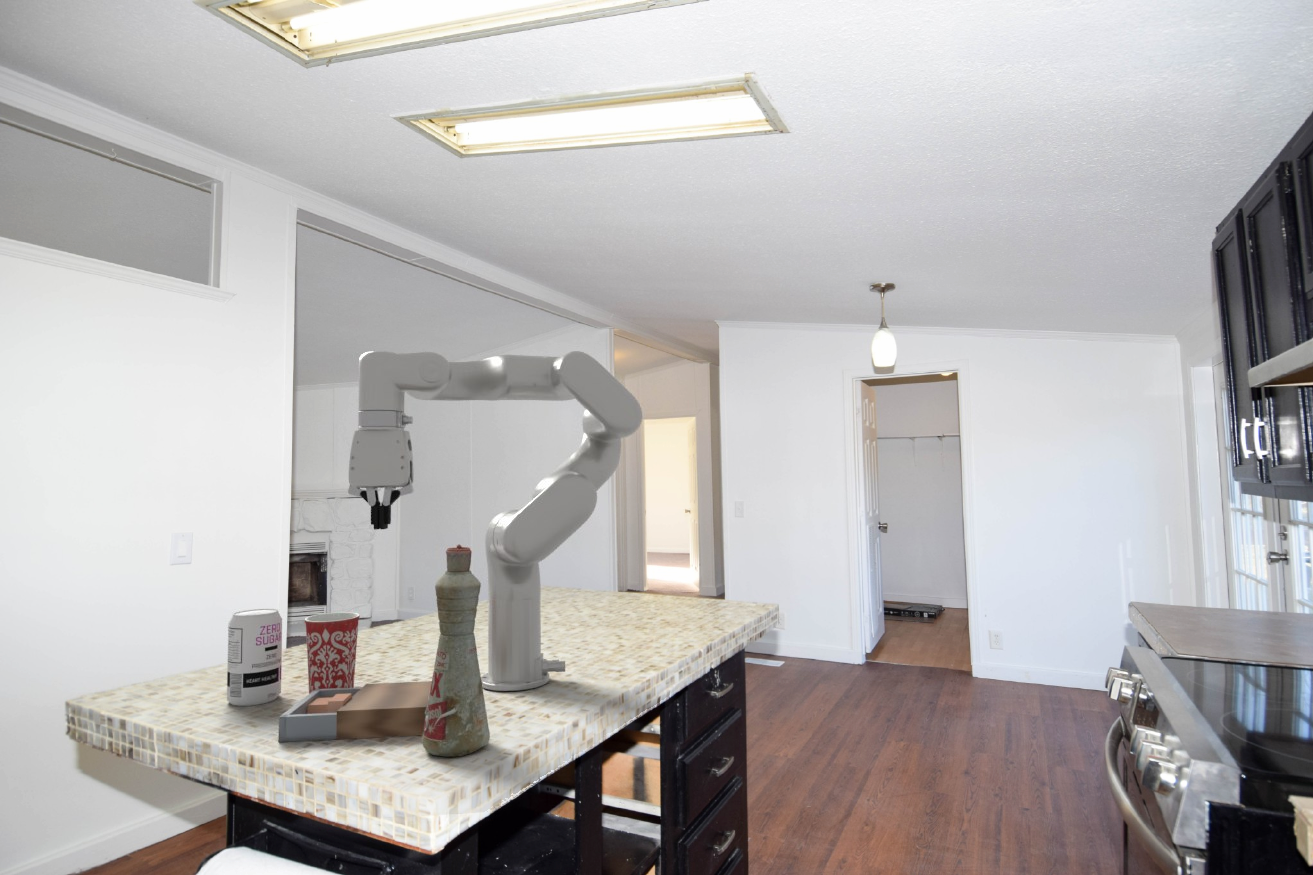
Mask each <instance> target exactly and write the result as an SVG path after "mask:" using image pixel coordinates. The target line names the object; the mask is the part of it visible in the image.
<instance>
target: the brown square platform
mask: <svg viewBox="0 0 1313 875" xmlns="http://www.w3.org/2000/svg"><path fill="white" fill-rule="evenodd" d="M431 683H432V680H428V681H427V680H425V681H424V680H423V681H403V682H381V683H380V682H379V683H366V684H364V685H363V686H361V687H362V688H361V689H360V690H359V691H358V692H357V693H356V694H355V695H354V696H353V697H351V698H350V699H349V700H348V701H347V702H346V703H345V704H344V705H343V706H342V707H341V708H339V709H338V710H337V731H336V739H335V740H348V739H350V740H351V739H369V738H370V739H371V738H389V737H393V738H395V737H410V736H411V737H412V736H423V732H424V725H425V717H426V714H425V710H426V708H427V704H428V698H429V692H430V689H431Z"/></svg>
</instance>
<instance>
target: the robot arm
mask: <svg viewBox="0 0 1313 875" xmlns="http://www.w3.org/2000/svg"><path fill="white" fill-rule="evenodd" d="M405 393H406V394H408V395H409V396H410V397H412V398H414V399H416V400H421V401H449V402H450V401H452V402H454V401H458V402H459V401H552V402H554V401H557V402H558V401H560V402H564V401H572V400H576V401H577V402H578V403H579V404H580V405H581V406H582V407H583V408H584V409H585V410H583V411H584V412H583V414H582V421H581V422H582V424H581V425H582V431H583V433H582V439H581V440H582V441H581V442H580V445H579V446H578V448H577V449H576V450H575V451H574V452H573V453H572V454H571V455H570V456H569V457H568V458H567V459H566V460H565V461H563V462H562V463H561V464H559V466H557V468H555V469H554V470H553V471H552V472H550V473H549V474H548V475H546V476H545V477H544V478H542V479H541V480H540V481H539V483H538V484H537V485H536V486H535V488H534V489H533V493H532V496H531V501H529V502H528V503H527V504H526V505H525V506H524V507H523V508H522V509H508V510H504V511H502V512H500V513H498V514H497V515H495V516H494V517H493V518H492V519H491V521H490V523H489V524H488V526H487V528H486V534H485V540H484V541H485V542H484V544H485V556H486V564H487V582H488V585H487V586H488V587H487V588H488V590H487V591H488V596H487V597H488V598H487V599H488V600H487V601H488V602H487V604H488V605H487V606H488V607H487V608H488V609H487V610H488V612H487V614H488V616H487V618H488V620H487V621H488V623H487V626H488V628H487V629H488V632H487V633H488V634H487V635H488V637H487V638H488V641H487V642H488V646H487V648H488V649H487V650H488V651H487V652H488V658H487V659H488V662H487V663H488V670H487V671H488V672H487V673H484V674H483V675H481V681H482V688H483V689H486V690H489V691H499V692H514V691H516V692H517V691H524V690H531V689H535V688H539V687H542V686H544V685H546V684H548V682H550V673H551V672H553V673H554V672H555V673H565V672H566V660H560V659H552V660H548V659H547V658H544V653H543V652H542V649H541V648H542V644H541V643H542V642H541V641H542V640H541V639H542V638H541V637H542V636H541V635H542V634H541V631H542V630H541V618H542V617H541V616H542V614H541V613H542V612H541V595H542V594H541V592H542V591H541V590H542V589H541V588H542V587H541V586H542V585H541V574H540V573H541V571H540V564H539V563H540V562H542V561H544V560H545V559H546V558H548V557H549V556H550V555H551V554H553V553H554V552H555V551H556V550H557V549H559V547H561V546H562V544H563V543H565V542H566V541H567V540H569V538H570V537H571V536H572V535H573V534H575V532H576V531H578V530H579V528H581V527H582V526H583V525H584V524H585V523H586V522H587V521H588V520H589V519H590V518H591V516H592V515H593V513H594V511H595V509H596V506H597V503H598V502H597V501H598V493H597V492H598V490H599V489H600V488H601V487H602V486H603V485H604V484H605V483H606V482H607V481H608V480H609V479H610V478H611V477H612V476H613V475H614V473H615V471H616V470H617V468H618V466H619V462H620V459H621V453H622V451H621V450H622V439H624V438H627V437H630V436H631V435H633V434H635V433H636V432H637V431H638V429H639V428H640V426H641V425H642V420H643V411H642V407H641V404H640V403H639V401H638V400H637V399H636V397H635V396H634V395H633V394H632V393H631V392H630V391H629V390H628V389H627V388H626V387H625V386H624V385H623V384H622V383H621V382H620V381H619V380H618V379H617V378H616V377H615V376H613V374H611V372H609V371H608V369H606V368H605V367H604V366H603V365H602V364H601V362H599V361H597V359H595V357H592V356H591V355H589V353H585V352H584V351H577V350H576V351H570V352H568V353H566V354H563V355H561V356H549V355H548V356H547V355H546V356H545V355H544V356H543V355H523V354H520V355H519V354H500V355H494V356H491V357H486V358H483V359H477V360H471V361H458V362H457V361H448V360H447V358H445V357H444V356H443V355H441V354H439V353H437V352H434V351H433V352H432V351H418V352H417V351H416V352H404V353H396V352H393V351H385V350H384V351H383V350H371V351H366V352H364V353H363V354H361V355H360V357H359V360H358V413H357V414H358V421H357V422H358V424H357V425H358V428H357V429H358V430H354V433H353V435H352V441H351V445H350V446H351V447H350V452H349V461H348V463H349V464H348V482H349V486H348V490H347V493H348V494H349V495H351V496H356V497H361V498H362V499H363V500H364V501H365V502H366V503H367V504H368V505H369V506H370V524H371V525H373V530H375V531H377V530H386V529H387V530H388V528H389V525H391V524H392V505H394V503H395V502H396V501H397V500H398V499H399V498H400V497H402V496H406V495H411V494H413V493H414V486H413V483H414V478H415V477H414V474H415V473H414V456H413V447H412V446H413V445H412V439H411V435H410V434H411V433H410V431H409V430H405V429H406V426H407V425H410V424H411V425H413V422H414V418H413V416H412V415H411V416H410V415H407V414H406V413H405ZM381 488H382V489H383V488H384V491H383V497H382V501H380V496H379V489H381ZM397 488H398V489H397Z"/></svg>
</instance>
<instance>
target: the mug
mask: <svg viewBox="0 0 1313 875" xmlns="http://www.w3.org/2000/svg"><path fill="white" fill-rule="evenodd" d="M360 617H361V615H360V613H358V612H352V611H351V612H348V611H347V612H343V611H342V612H341V611H339V612H327V613H319V614H314V615H310V616H307V617H305V618H304V623H305V636H306V638H305V639H306V654H307V656H306V657H307V678H308V695H309V694H310V693H311V692H313V691H314V690H315V689H331V688H355V675H356V674H355V673H356V672H355V671H356V661H357V660H356V658H357V646H358V645H357V644H358V635H359V621H360V620H359V619H360Z"/></svg>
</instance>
